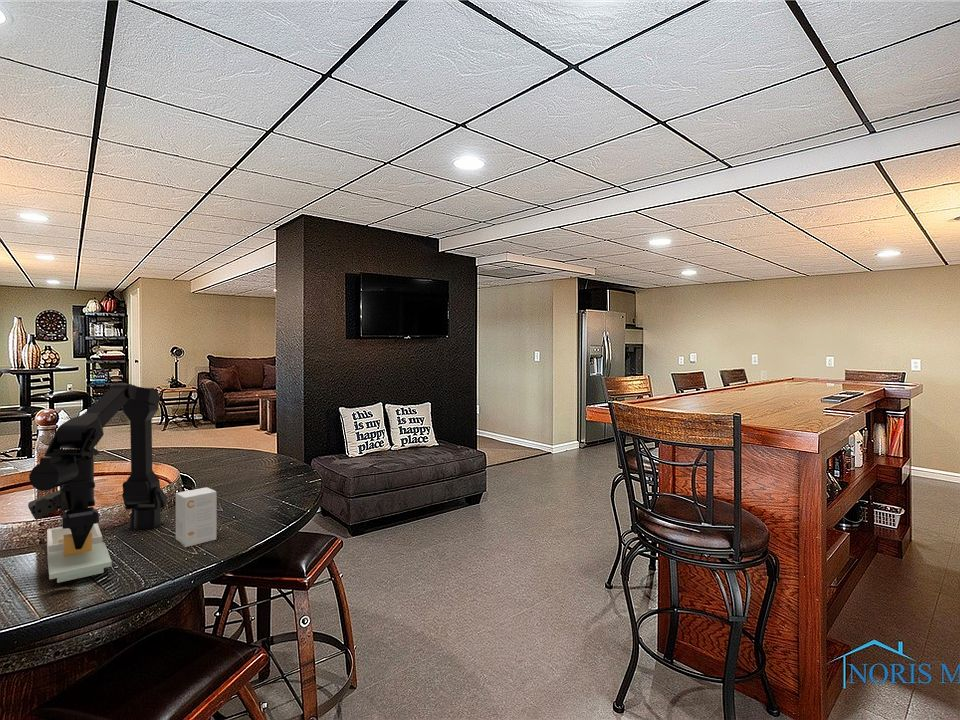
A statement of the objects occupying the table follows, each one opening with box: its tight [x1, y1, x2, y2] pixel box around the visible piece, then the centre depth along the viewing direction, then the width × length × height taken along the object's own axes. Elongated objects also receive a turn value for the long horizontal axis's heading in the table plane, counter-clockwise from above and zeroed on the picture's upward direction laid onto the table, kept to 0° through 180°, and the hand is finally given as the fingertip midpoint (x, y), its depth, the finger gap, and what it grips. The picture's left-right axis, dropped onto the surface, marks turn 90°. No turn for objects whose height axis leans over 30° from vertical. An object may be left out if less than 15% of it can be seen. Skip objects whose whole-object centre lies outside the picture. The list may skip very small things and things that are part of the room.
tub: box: [46, 523, 103, 554], centre depth 128 cm, size 14×10×5 cm
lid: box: [47, 530, 113, 584], centre depth 114 cm, size 14×10×6 cm
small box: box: [175, 487, 218, 548], centre depth 137 cm, size 8×6×13 cm
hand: (78, 547), depth 118 cm, fingers closed on lid, 2 cm apart
